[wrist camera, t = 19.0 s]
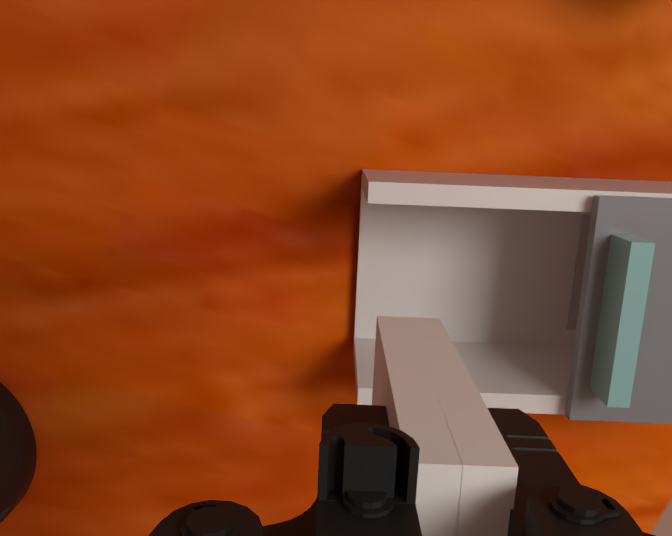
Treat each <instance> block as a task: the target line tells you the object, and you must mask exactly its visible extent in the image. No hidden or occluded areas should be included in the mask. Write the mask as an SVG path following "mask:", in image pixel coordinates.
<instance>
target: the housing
mask: <svg viewBox="0 0 672 536" xmlns="http://www.w3.org/2000/svg"><path fill="white" fill-rule="evenodd" d="M594 195H611V196H636V197H661V198H672V182H668V181H643V180H619V179H594V178H569V177H545V176H520V175H495V174H471V173H446V172H421V171H396V170H372V169H362V179H361V199H360V220H359V240H358V261H357V281H356V302H355V322H354V343H353V352H354V367H355V381H356V396H357V405H372V391H373V374H374V357H375V340H376V322H377V316H391V317H416V318H440V319H441V321H442V323H443V325H444V327H445V329H446V331H447V333H448V335H449V336H450V338H451V340H452V342H453V344H454V346H455V348H456V350H457V352H458V353H459V355H460V357H461V359H462V361H463V363H464V365H465V367H466V369H467V371H468V372H469V374H470V376H471V378H472V380H473V382H474V384H475V386H476V388H477V389H478V391H479V393H480V395H481V397H482V399H483V401H484V403H485V405H486V406H487V408H508V409H520V410H521V411H522V412H524V413H536V414H562V415H565V407H566V399H567V392H568V384H569V377H570V369H571V362H572V354H573V347H574V339H575V332H576V324H577V317H578V309H579V302H580V294H581V286H582V279H583V271H584V264H585V256H586V249H587V241H588V234H589V226H590V219H591V211H592V204H593V196H594Z"/></svg>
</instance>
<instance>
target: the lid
mask: <svg viewBox="0 0 672 536" xmlns="http://www.w3.org/2000/svg"><path fill="white" fill-rule="evenodd" d="M565 415H566V416H567V417H568V419H569V420H584V421H610V422H636V423H662V424H672V198H661V197H636V196H611V195H594V196H593V204H592V211H591V219H590V226H589V234H588V241H587V249H586V256H585V264H584V271H583V279H582V286H581V294H580V302H579V309H578V317H577V324H576V332H575V339H574V347H573V354H572V362H571V369H570V377H569V384H568V392H567V399H566V407H565Z"/></svg>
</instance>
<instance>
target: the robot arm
mask: <svg viewBox="0 0 672 536" xmlns="http://www.w3.org/2000/svg"><path fill="white" fill-rule="evenodd" d="M35 466H36V444H35V438H34V434H33V430H32V427H31V425H30V422H29V420H28V418H27V416H26V414H25V412H24V410H23V409H22V407H21V405H20V404H19V403H18V401H17V400H16V398H15V397H14V396H13V395H12V394H11V393H10V392H9V391H8V390H7V388H6V387H4V386H3V385H2V384H1V383H0V523H1V522H2V521H3V520H4V519H5V518H6V517H7V516H8V515H9V514H10V512H11V511H12V510H13V509H14V508H15V506H16V505H17V504H18V503H19V502H20V500H21V499H22V498H23V497H24V495H25V493H26V492H27V490H28V488H29V486H30V484H31V481H32V479H33V475H34V471H35ZM149 536H654V535H651V534H647V533H644V532H642V530H641V529H640V528H639V526H638V525H637V524H636V522H635V521H634V520H633V518H632V517H631V516H630V514H629V513H628V512H627V511H626V510H625V509H624V508H623V507H622V506H621V505H620V504H619V503H618V502H617V501H616V500H614V499H613V498H611V497H609V496H607V495H605V494H604V493H602V492H600V491H598V490H595V489H592V488H589V487H586V486H583V485H580V483H579V482H578V481H577V479H576V478H575V476H574V475H573V473H572V472H571V470H570V469H569V467H568V466H567V464H566V463H565V461H564V460H563V458H562V457H561V455H560V454H559V452H556V448H555V446H554V445H553V443H552V442H551V440H548V436H547V435H546V433H545V432H544V430H543V429H542V427H541V426H540V424H539V423H538V422H537V421H536V420H534V419H533V418H531V417H530V416H528V415H527V414H525V413H524V412H522V411H521V410H520V409H508V408H487V406H486V405H485V403H484V401H483V399H482V397H481V395H480V393H479V391H478V389H477V388H476V386H475V384H474V382H473V380H472V378H471V376H470V374H469V372H468V371H467V369H466V367H465V365H464V363H463V361H462V359H461V357H460V355H459V353H458V352H457V350H456V348H455V346H454V344H453V342H452V340H451V338H450V336H449V335H448V333H447V331H446V329H445V327H444V325H443V323H442V321H441V319H440V318H416V317H391V316H377V322H376V340H375V357H374V374H373V391H372V405H354V404H333V405H332V406H331V407H330V408H329V409H328V410H327V412H326V413H325V414H324V415H323V416H322V434H321V442H320V444H319V470H318V495H317V499H316V501H315V502H314V503H313V505H312V506H311V508H309V509H308V510H307V511H305V512H304V513H303V514H302V515H299V516H297V517H295V518H293V519H291V520H288V521H285V522H281V523H277V524H272V525H267V526H262V524H261V522H260V519H259V517H258V516H257V515H256V514H255V513H254V512H253V511H251V510H250V509H249V508H248V507H246V506H243V505H240V504H237V503H234V502H231V501H218V500H209V501H201V502H197V503H191V504H189V505H186V506H184V507H182V508H179V509H177V510H175V511H173V512H172V513H171V514H169V515H168V516H167V517H166V518H164V519H163V520H162V521H161V522H160V523H159V524H158V525H157V526H156V528H155V529H154V530H153V531H152V532H151V533H150V535H149Z"/></svg>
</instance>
